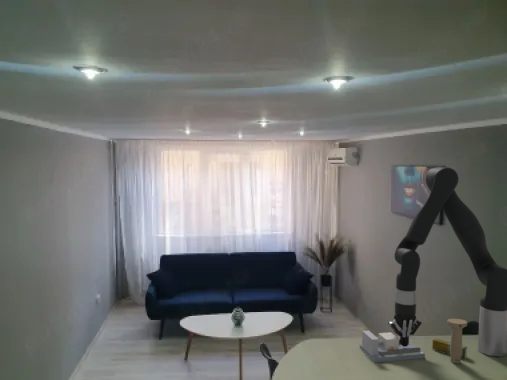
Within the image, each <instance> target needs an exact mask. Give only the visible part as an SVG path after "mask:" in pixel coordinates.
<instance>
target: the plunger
mask: <svg viewBox="0 0 507 380" xmlns="http://www.w3.org/2000/svg"><path fill="white" fill-rule="evenodd" d="M377 338H378V339H379V345H378V346H379V347H380V348H381V349H382V350H396V349H399V339H400V337H397V336H396V335H395V334H394V333H392V332H390V331H389V332H379V333H378V337H377Z"/></svg>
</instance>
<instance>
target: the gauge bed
mask: <svg viewBox="0 0 507 380" xmlns="http://www.w3.org/2000/svg"><path fill="white" fill-rule="evenodd" d="M361 333H362V335H361V337H362V338H361V339H362V340H361V343H360V344H359V349H360V348H361V349H362V350H363V351H364V352H365V353H366V354H367V355H368V356H369V357H370V358H369V357H368V358H369V359H370V360H371V361H373V363H379V362H380V363H381V362H383V363H384V362H393V361H403V360H405V361H406V360H414V359H425V358H426V353H425V352H423V351H422V350H421V347H417V346H415V345H414V344H413V343H411V342H410V341H409V344H408V346H405V347H403V346H402V345H401V344H400V338H399V349H396V350H382V349H381V348H380V347H379V346H378V345H379V339H378V337H377V336H376V335H375V334H374V333H372V332H371V331H370V330H362V332H361ZM361 349H360V350H361ZM362 350H361V351H362ZM363 351H362V352H363ZM364 352H363V353H364ZM365 353H364V354H365ZM366 354H365V355H366ZM367 355H366V356H367Z"/></svg>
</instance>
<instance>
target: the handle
mask: <svg viewBox="0 0 507 380" xmlns="http://www.w3.org/2000/svg"><path fill="white" fill-rule="evenodd" d="M446 323H447V325H448V326H450V327H451V333H450V341H449V342H450V354H449V356H450V359H449V360H450V362H451V363H453V364H460V363H461V362H462V358H461V356H462V346H463V329H464V328H465V327H468V321H467V320H464V319H461V318H449V319H447V321H446Z"/></svg>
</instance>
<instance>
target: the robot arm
mask: <svg viewBox="0 0 507 380" xmlns="http://www.w3.org/2000/svg"><path fill="white" fill-rule="evenodd" d="M458 183H459V174H458V173H457V172H456V170H455V169H453V168H451V167H447V166H441V167H440V166H439V167H437V166H436V167H433V168H431V169H429V170H428V171H427V172H426V175H425V184H426V186H427V188H428V189H429V190H430V194H429V195H428V197H427V200H426V201H425V202H424V204H423V205H422V207H421V208H420V209H419V211H417V213H416V214H415V216H414V217H413V219H412V221H411V223H410V226H409V228H408V230H407V233H406V234H405V236H403V238H402V240H401V241H400V242H399V244H398V245H397V247H396V249H395V251H394V260H395V261H396V262H397V264H399V265H401V267H400V272H398V273H397V275H396V279H395V280H396V281H395V293H394V315H393V316H394V317H393V320H392V321H390V320H389V321H388V322H387V323H388V325H389V327H390V328H391V329H392V330H393V332H394V333H395V334H396V335H397V336H398V337H399V339H400V344H401V345H402V346H403V347H405V346H408V344H409V342H410V336H414V335H415V333H416V332H417V330H418V329H419V328H420V327H421V325H422V321H421V320H419V319H417V316H416V313H417V278H418V274H419V271H420V267H421V257H420V254H419V253H418V252H417V251H416V250H417V249H418V247H419V246H422V245H424V244H425V242H426V241H427V239H428V237H429V235H430V232H431V230H432V228H433V226H434V223H435V222H436V219H437V218H438V216H439V214H440V213H441V211H443V213H444V215H445V217H446V219H447V220H448V222H449V224H450V226H451V228H452V230H453V232H454V234H455V236H456V237H457V239H458V241H459V242H460V244H461V246H462V248H463V249H464V252H465V253H466V254H467V256H468V257H469V260H470V261H471V264H472V266H473V269H474V272H475V274H476V276H477V278H478V280H479V282H480V283H481V284H482V285H484V286H485V287H486V289H485V296H482V297H481V298H480V300H479V317H478V318H479V319H478V320H479V321H478V338H477V350H478V352H480V353H482V354H484V353H485V354H484V355H486V354H487V356H489V357H495V356H499V357H500V358H501V357H504V356H506V355H507V268H506V267H503V266H501V265H499V264H498V263H497V262H496V261H495V260H494V258H493V257H492V255H491V253H490V251H489V250H488V247H487V239H486V234H485V231H484V228H483V227H482V225H481V223H480V221H479V219H478V218H477V216H476V214H474V212H473V210H471V208H470V207H468V205H466V204H465V202H464V201H463V200H461V198H460V197H459V196H458V194H457V192H456V190H455V189H456V188H457V186H458ZM397 326H398V328H397ZM499 357H498V358H499Z"/></svg>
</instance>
